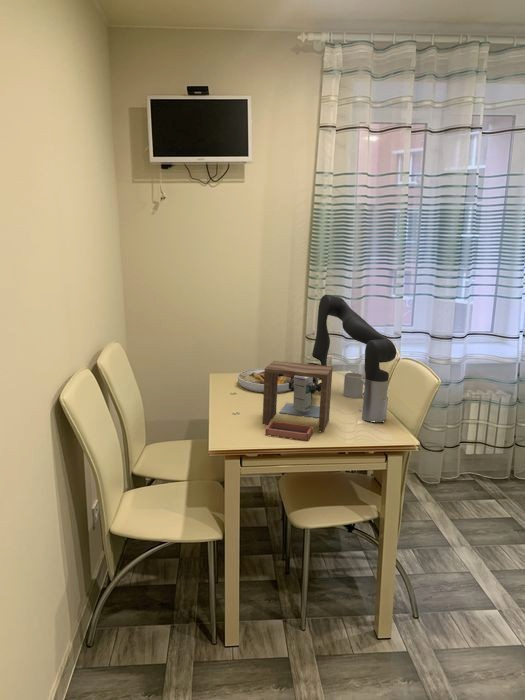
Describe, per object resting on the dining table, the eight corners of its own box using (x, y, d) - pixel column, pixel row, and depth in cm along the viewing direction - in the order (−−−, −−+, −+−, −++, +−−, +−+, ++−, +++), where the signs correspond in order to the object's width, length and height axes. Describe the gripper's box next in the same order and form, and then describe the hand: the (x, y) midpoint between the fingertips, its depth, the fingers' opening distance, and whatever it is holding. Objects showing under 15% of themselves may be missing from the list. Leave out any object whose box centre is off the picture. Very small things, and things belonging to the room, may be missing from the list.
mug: (341, 392, 249) (342, 372, 247) (360, 392, 250) (362, 372, 248) (347, 399, 239) (348, 378, 237) (367, 399, 240) (369, 378, 238)
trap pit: (271, 427, 200) (271, 420, 200) (312, 432, 196) (312, 426, 196) (265, 435, 192) (265, 428, 191) (307, 441, 188) (308, 434, 187)
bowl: (270, 399, 236) (270, 382, 234) (224, 385, 256) (225, 369, 254) (310, 387, 258) (311, 371, 256) (265, 375, 277) (266, 360, 276)
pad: (286, 403, 229) (286, 402, 229) (327, 408, 225) (327, 407, 225) (279, 413, 216) (279, 412, 216) (322, 418, 211) (322, 417, 211)
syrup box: (304, 412, 213) (306, 378, 209) (292, 408, 216) (294, 375, 213) (311, 408, 217) (313, 375, 214) (300, 405, 221) (301, 372, 217)
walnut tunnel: (271, 413, 216) (273, 360, 211) (328, 420, 210) (332, 366, 205) (262, 424, 203) (264, 368, 198) (323, 432, 197) (327, 375, 192)
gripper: (293, 370, 229) (285, 380, 214) (326, 373, 226) (320, 383, 210) (293, 386, 231) (284, 397, 215) (325, 390, 227) (319, 401, 212)
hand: (302, 390), depth 213 cm, fingers closed on syrup box, 7 cm apart
